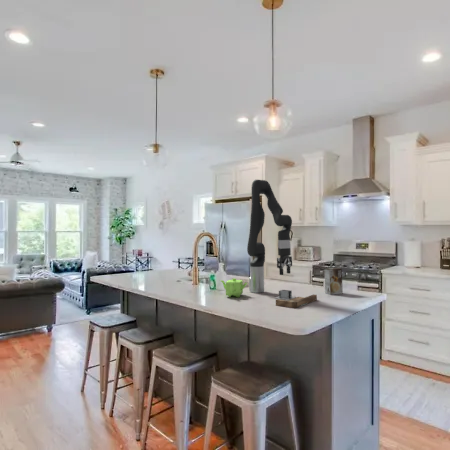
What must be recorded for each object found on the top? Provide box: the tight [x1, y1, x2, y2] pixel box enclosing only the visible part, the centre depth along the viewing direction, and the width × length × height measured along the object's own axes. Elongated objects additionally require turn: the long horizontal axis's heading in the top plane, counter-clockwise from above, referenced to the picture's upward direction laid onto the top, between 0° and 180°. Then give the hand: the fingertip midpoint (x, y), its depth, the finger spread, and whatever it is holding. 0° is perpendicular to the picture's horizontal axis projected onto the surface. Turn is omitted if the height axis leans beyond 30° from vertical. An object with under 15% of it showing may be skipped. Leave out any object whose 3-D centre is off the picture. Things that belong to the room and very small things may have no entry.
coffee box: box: [323, 267, 343, 296], centre depth 218 cm, size 9×6×16 cm
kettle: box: [219, 277, 248, 298], centre depth 216 cm, size 15×14×11 cm
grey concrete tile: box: [274, 295, 296, 300], centre depth 206 cm, size 10×8×1 cm
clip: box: [278, 289, 293, 299], centre depth 206 cm, size 6×5×4 cm
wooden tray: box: [275, 294, 318, 309], centre depth 192 cm, size 12×26×3 cm, turn 140°
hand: (285, 274), depth 206 cm, fingers open, 8 cm apart
